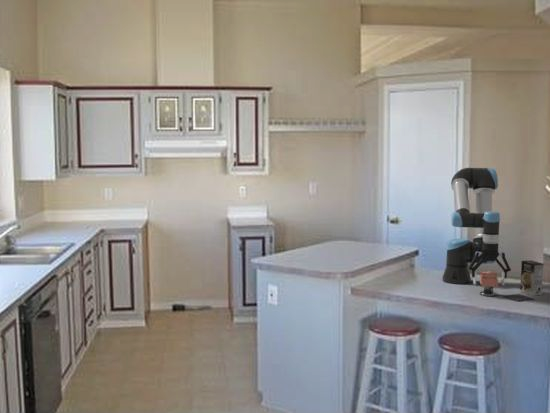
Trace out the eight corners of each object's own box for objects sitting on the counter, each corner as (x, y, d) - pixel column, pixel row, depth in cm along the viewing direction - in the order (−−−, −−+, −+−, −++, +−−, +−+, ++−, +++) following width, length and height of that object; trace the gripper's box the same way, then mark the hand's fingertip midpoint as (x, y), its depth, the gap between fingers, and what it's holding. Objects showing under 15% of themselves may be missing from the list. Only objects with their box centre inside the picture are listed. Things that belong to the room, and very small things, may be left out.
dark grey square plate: (502, 296, 319) (503, 295, 319) (518, 295, 323) (518, 293, 323) (517, 301, 310) (517, 300, 310) (533, 299, 313) (533, 298, 313)
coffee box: (519, 291, 330) (520, 260, 328) (529, 290, 332) (531, 259, 331) (532, 295, 322) (533, 264, 320) (542, 294, 324) (544, 263, 322)
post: (476, 293, 325) (477, 276, 324) (489, 292, 328) (489, 274, 327) (487, 297, 318) (488, 279, 317) (500, 295, 321) (500, 278, 320)
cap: (482, 286, 319) (483, 272, 318) (479, 283, 326) (480, 269, 326) (497, 286, 318) (498, 273, 318) (494, 283, 325) (495, 270, 325)
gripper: (466, 242, 318) (464, 285, 320) (518, 244, 315) (516, 286, 317) (463, 240, 325) (461, 281, 327) (514, 242, 322) (512, 283, 324)
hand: (488, 284), depth 322 cm, fingers open, 13 cm apart
